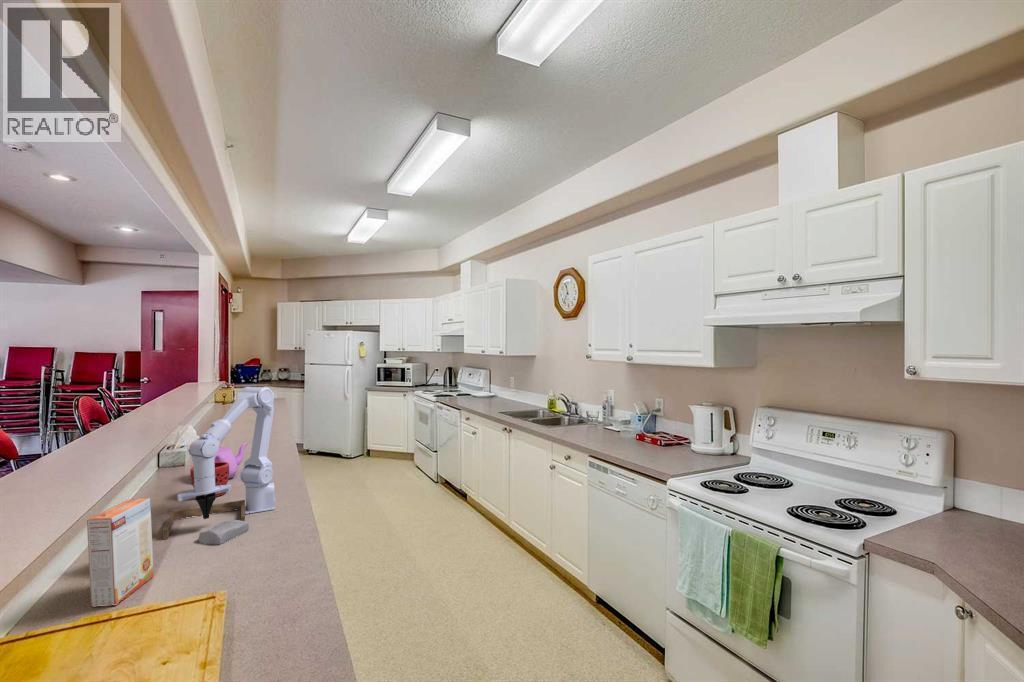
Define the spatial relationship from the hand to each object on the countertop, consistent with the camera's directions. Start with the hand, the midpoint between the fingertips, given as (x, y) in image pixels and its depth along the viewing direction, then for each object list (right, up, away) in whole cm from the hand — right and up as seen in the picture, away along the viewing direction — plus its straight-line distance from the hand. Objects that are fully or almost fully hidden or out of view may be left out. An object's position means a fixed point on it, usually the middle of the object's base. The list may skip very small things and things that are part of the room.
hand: (206, 517), depth 158 cm
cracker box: (+3, -5, -38) cm, 38 cm away
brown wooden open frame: (-3, -4, +6) cm, 8 cm away
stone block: (+8, -4, -5) cm, 11 cm away
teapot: (-32, -4, +59) cm, 67 cm away
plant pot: (-20, -4, +36) cm, 41 cm away
